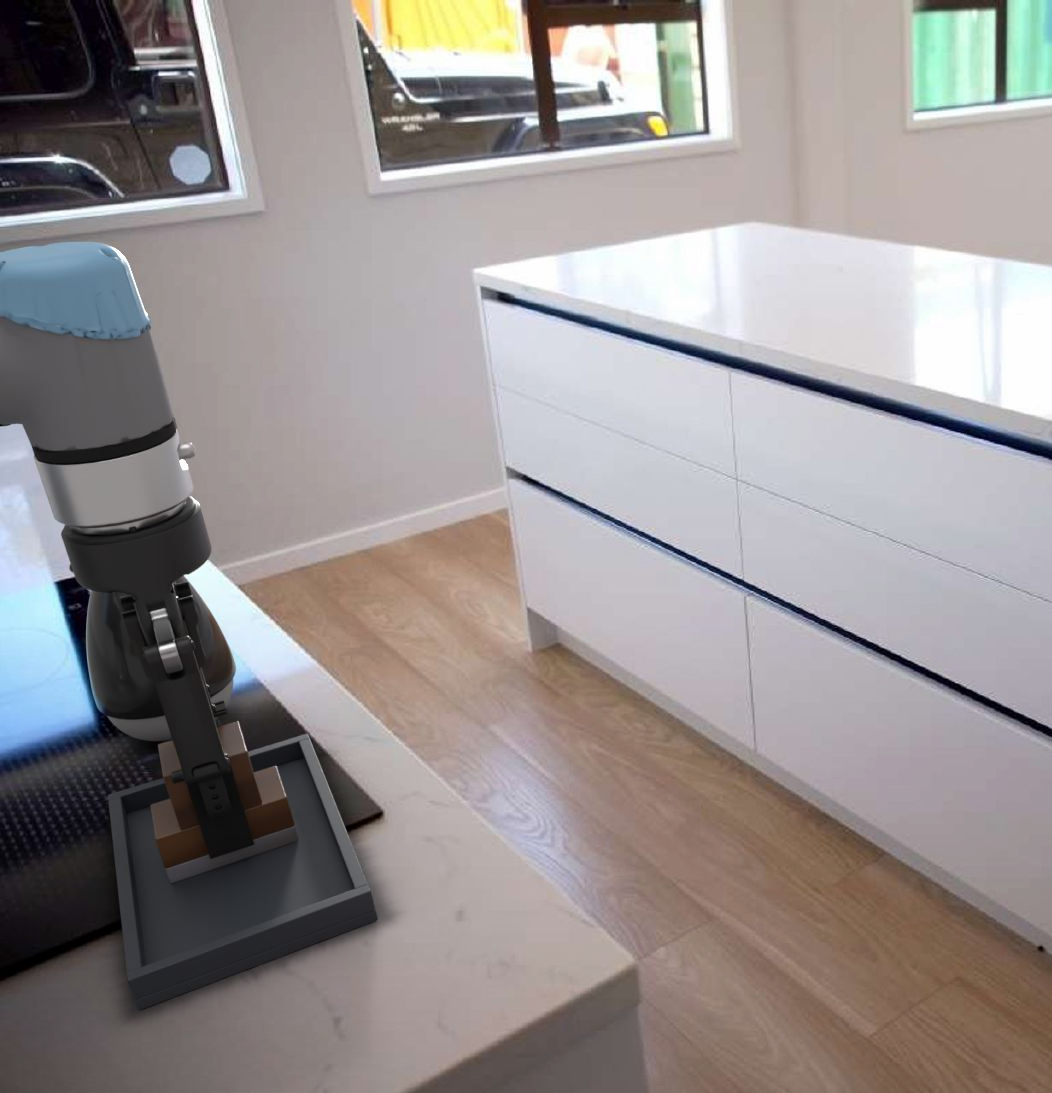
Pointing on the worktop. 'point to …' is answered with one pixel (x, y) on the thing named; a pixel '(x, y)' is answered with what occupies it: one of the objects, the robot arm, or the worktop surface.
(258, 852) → the brown t-shaped block
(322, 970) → the worktop surface
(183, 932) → the tray
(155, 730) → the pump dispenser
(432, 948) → the worktop surface
